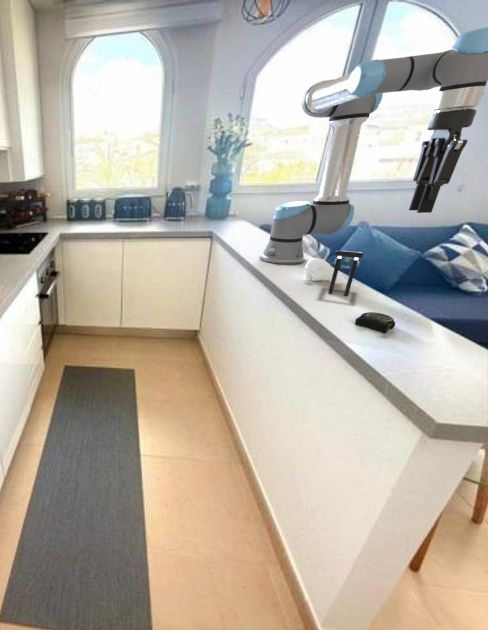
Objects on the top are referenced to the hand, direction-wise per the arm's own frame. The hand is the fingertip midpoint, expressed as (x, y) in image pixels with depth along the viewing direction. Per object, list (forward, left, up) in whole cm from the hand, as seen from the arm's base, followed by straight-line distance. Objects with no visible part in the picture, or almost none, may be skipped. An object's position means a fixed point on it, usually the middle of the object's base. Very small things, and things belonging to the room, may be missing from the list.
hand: (419, 211), depth 92 cm
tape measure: (+21, -11, -27) cm, 36 cm away
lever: (+2, -14, -14) cm, 20 cm away
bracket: (-3, -12, -27) cm, 29 cm away
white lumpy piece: (-15, -13, -27) cm, 33 cm away
